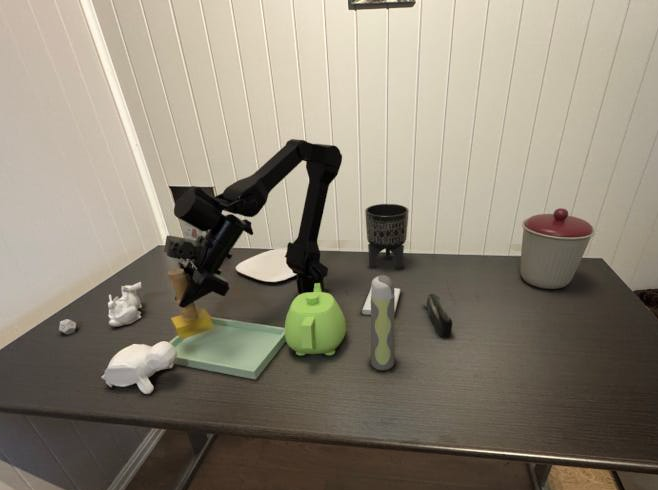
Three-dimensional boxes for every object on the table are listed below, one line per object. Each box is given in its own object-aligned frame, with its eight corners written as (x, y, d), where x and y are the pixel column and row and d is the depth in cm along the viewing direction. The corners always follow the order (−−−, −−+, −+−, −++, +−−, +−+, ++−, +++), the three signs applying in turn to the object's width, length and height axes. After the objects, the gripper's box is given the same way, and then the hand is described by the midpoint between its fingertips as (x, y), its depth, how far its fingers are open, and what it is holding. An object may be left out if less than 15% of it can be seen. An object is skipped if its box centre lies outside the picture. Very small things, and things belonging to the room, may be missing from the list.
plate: (279, 250, 133) (278, 245, 132) (325, 264, 122) (325, 259, 121) (228, 272, 118) (226, 267, 117) (275, 290, 107) (274, 285, 106)
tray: (290, 335, 87) (289, 328, 86) (255, 379, 75) (254, 371, 74) (204, 322, 93) (201, 315, 92) (158, 361, 80) (155, 353, 79)
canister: (591, 284, 106) (615, 210, 95) (553, 303, 98) (575, 224, 87) (535, 263, 119) (551, 196, 108) (497, 278, 111) (510, 207, 100)
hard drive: (400, 293, 104) (394, 317, 93) (371, 291, 105) (362, 314, 95) (400, 288, 103) (394, 311, 93) (371, 286, 104) (361, 308, 94)
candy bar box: (225, 258, 127) (214, 210, 119) (215, 263, 123) (202, 214, 115) (199, 253, 131) (187, 207, 122) (189, 259, 127) (175, 211, 118)
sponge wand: (207, 318, 86) (190, 262, 79) (213, 328, 83) (197, 270, 75) (174, 329, 83) (154, 271, 75) (180, 339, 79) (159, 280, 72)
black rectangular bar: (455, 320, 83) (434, 287, 95) (442, 321, 83) (423, 288, 95) (452, 338, 86) (432, 304, 98) (440, 339, 85) (421, 305, 98)
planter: (369, 255, 127) (368, 203, 117) (407, 257, 125) (409, 204, 116) (363, 272, 116) (362, 215, 107) (405, 274, 114) (407, 216, 105)
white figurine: (138, 304, 101) (125, 272, 96) (162, 307, 100) (151, 274, 95) (103, 329, 91) (87, 294, 86) (130, 332, 90) (115, 297, 85)
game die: (57, 334, 90) (51, 324, 88) (72, 326, 93) (67, 316, 91) (67, 337, 89) (61, 327, 87) (82, 329, 91) (77, 319, 90)
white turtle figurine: (117, 403, 74) (175, 386, 70) (85, 372, 70) (145, 352, 66) (143, 374, 81) (197, 357, 77) (116, 344, 77) (172, 325, 73)
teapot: (295, 319, 93) (289, 273, 87) (349, 318, 93) (346, 273, 87) (278, 372, 76) (268, 320, 70) (343, 371, 76) (340, 320, 70)
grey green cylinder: (371, 356, 80) (369, 272, 70) (393, 356, 80) (395, 272, 70) (370, 371, 76) (368, 284, 66) (394, 371, 76) (396, 284, 65)
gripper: (172, 209, 78) (131, 271, 79) (196, 233, 66) (148, 307, 66) (218, 236, 87) (181, 292, 87) (248, 262, 74) (205, 328, 74)
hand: (179, 303), depth 78 cm, fingers closed on sponge wand, 3 cm apart
